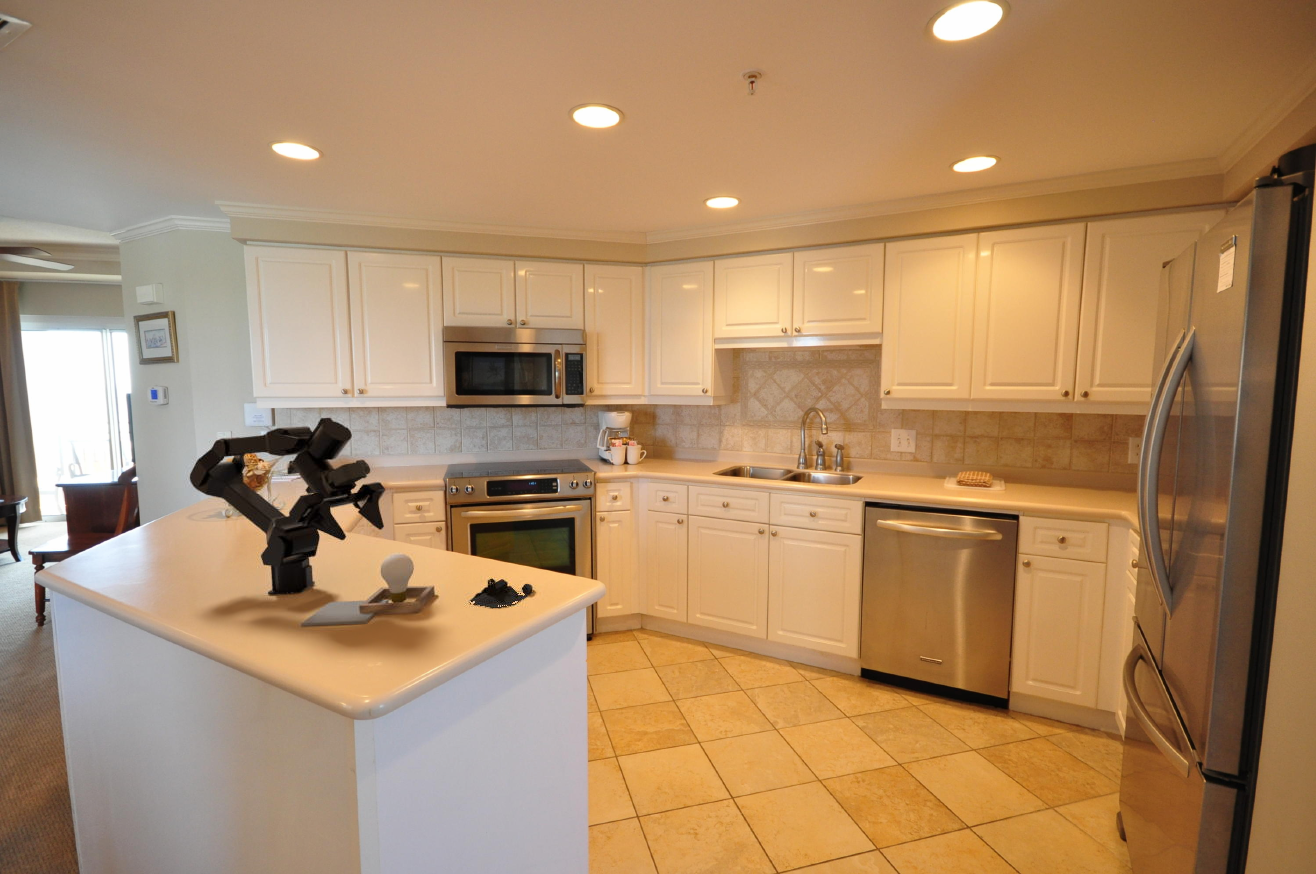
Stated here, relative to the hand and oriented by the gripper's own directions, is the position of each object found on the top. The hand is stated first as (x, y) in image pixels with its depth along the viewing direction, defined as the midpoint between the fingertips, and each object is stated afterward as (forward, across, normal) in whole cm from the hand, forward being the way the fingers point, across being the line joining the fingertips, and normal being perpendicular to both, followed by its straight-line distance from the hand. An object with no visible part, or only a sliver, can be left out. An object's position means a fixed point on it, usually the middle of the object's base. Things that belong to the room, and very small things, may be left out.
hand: (363, 533), depth 117 cm
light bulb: (+15, 0, +4) cm, 16 cm away
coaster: (+11, -7, +8) cm, 15 cm away
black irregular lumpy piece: (+28, +10, -8) cm, 30 cm away
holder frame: (+15, 0, +4) cm, 16 cm away
